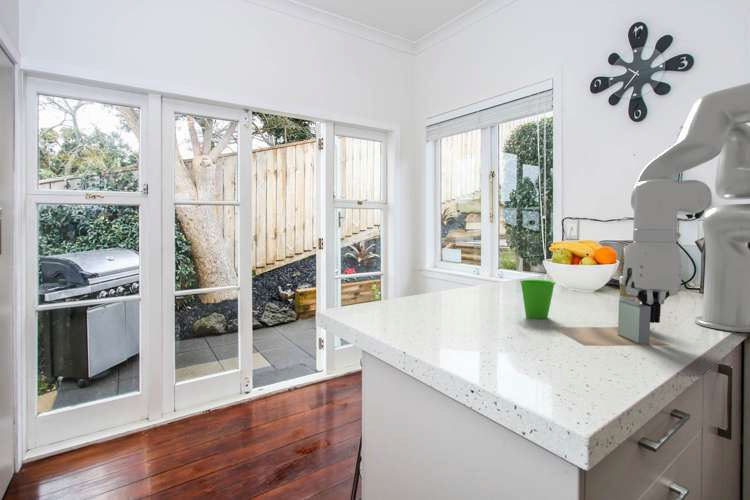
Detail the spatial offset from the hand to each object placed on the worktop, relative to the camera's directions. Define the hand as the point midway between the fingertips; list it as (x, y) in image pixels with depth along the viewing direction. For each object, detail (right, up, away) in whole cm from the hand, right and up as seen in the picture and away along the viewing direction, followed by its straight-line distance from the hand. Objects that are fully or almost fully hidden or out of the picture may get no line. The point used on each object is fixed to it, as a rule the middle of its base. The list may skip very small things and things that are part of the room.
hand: (650, 321), depth 81 cm
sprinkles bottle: (+4, -5, +13) cm, 15 cm away
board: (-8, -5, +3) cm, 10 cm away
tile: (-4, -4, 0) cm, 5 cm away
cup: (-16, -4, +21) cm, 27 cm away
